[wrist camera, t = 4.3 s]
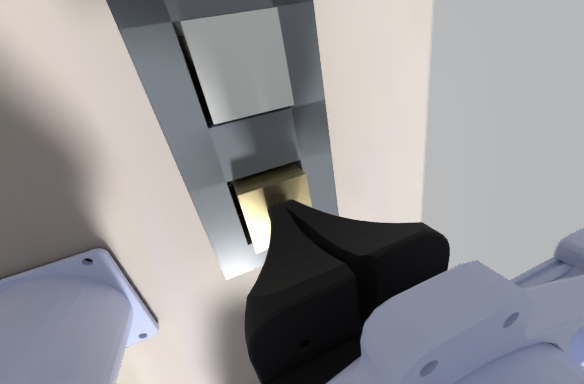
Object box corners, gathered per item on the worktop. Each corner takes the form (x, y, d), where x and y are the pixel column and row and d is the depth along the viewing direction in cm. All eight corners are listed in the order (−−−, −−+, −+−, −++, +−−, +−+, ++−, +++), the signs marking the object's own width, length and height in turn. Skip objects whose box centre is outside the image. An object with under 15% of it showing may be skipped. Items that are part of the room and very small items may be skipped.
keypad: (222, 251, 17) (226, 280, 15) (4, -282, 8) (-97, -472, 5) (321, 215, 19) (340, 234, 17) (248, -256, 9) (267, -387, 7)
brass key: (246, 226, 16) (256, 253, 13) (230, 175, 14) (237, 195, 12) (297, 208, 17) (316, 230, 14) (287, 158, 15) (306, 173, 12)
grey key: (210, 117, 13) (214, 124, 10) (184, 37, 11) (180, 21, 8) (275, 101, 13) (294, 104, 11) (259, 24, 12) (277, 7, 9)
